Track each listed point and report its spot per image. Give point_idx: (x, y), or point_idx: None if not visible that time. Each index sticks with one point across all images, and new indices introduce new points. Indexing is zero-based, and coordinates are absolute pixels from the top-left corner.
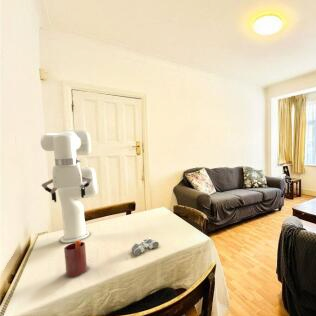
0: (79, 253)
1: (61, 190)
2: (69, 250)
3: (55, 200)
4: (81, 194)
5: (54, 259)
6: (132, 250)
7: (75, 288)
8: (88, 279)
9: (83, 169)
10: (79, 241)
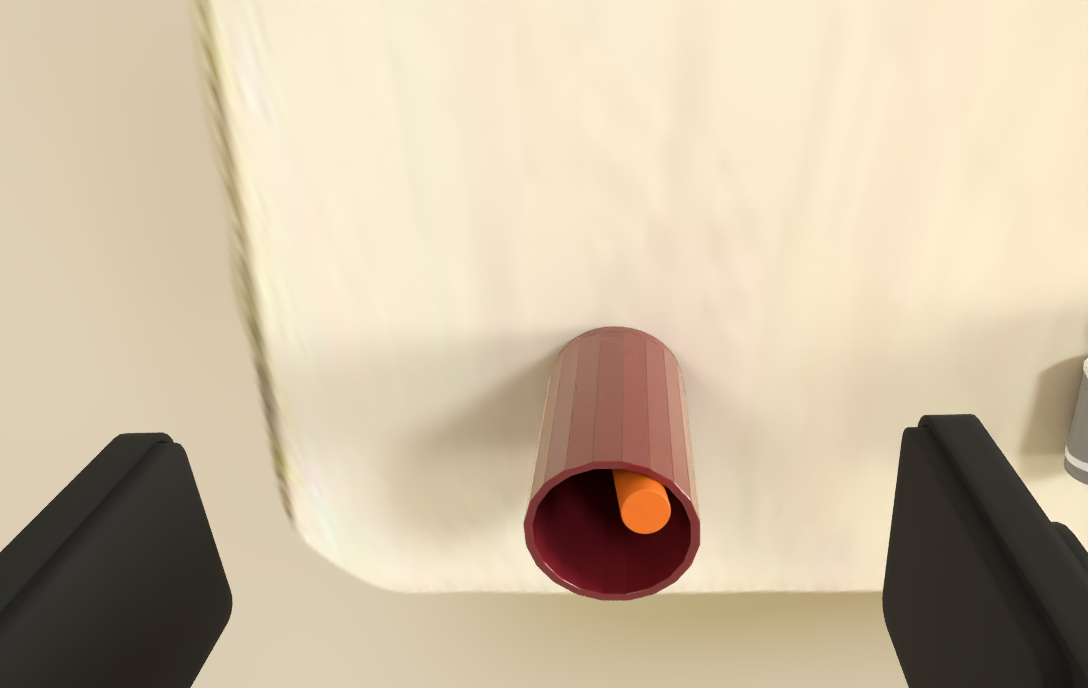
0: (643, 555)
1: None
2: (569, 588)
3: (197, 656)
4: (922, 643)
5: (428, 3)
6: (1080, 396)
7: None
8: None
9: None
10: (655, 527)
